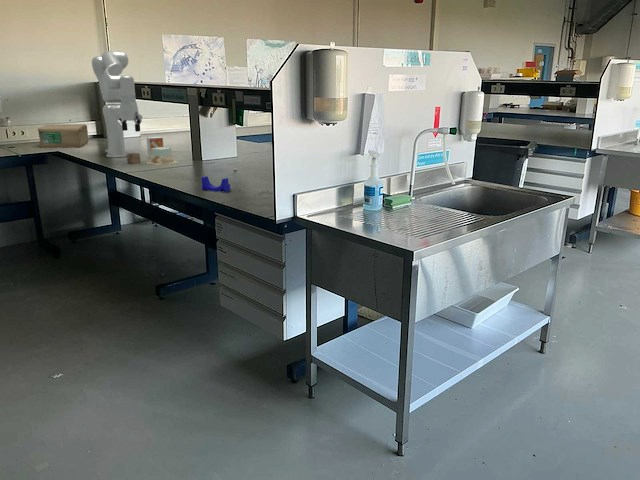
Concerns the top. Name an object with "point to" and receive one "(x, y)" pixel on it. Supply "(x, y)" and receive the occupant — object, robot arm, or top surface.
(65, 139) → the paper package
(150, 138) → the small box
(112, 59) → the robot arm
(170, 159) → the tower base
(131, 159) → the walnut block
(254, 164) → the top surface
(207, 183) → the blue cradle block
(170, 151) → the tower top
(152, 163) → the cork mat
